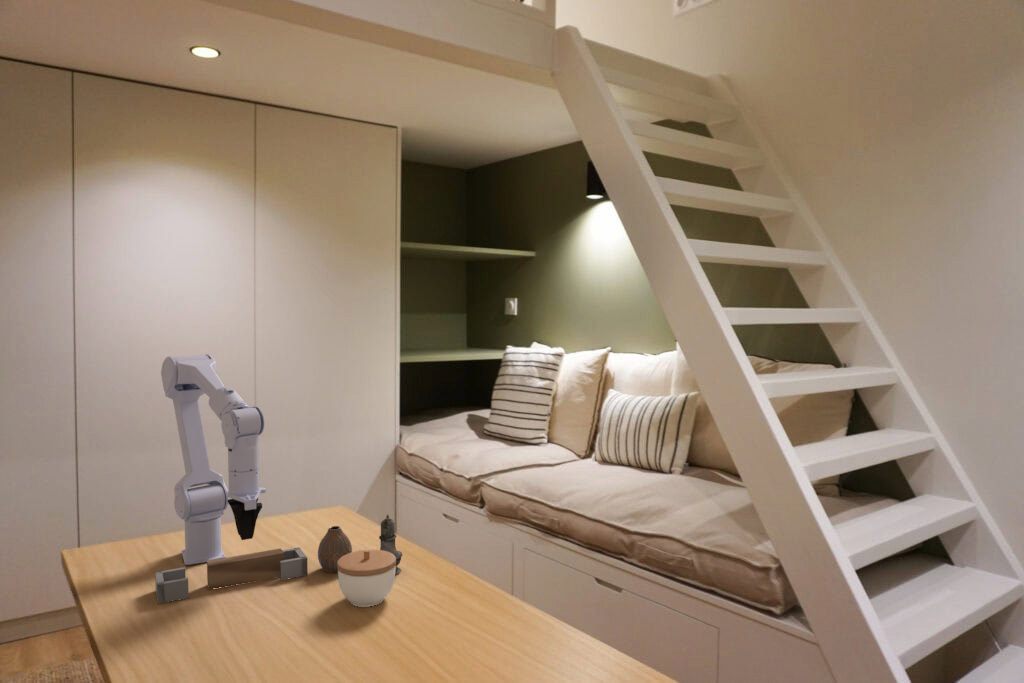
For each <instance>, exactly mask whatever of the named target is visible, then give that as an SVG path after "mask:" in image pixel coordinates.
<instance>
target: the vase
mask: <svg viewBox="0 0 1024 683" xmlns="http://www.w3.org/2000/svg"><path fill="white" fill-rule="evenodd" d="M352 552H353V546H352V543H351V541H350V539H349V537H348V536H347V534H346V533H344V531H343V529H342V528H341V526H339V525H333V526H329V527H328V529H327V531H326V533H325V535H324V536H323V537H322V538H321V540H320V542H319V544H318V548H317V560H318V563H319V565H320V567H321V568H322V569H323V570H324V571H325V572H327V573H330V574H331V573H332V574H333V573H336V574H337V573H338V569H337V562H338V560H339V559H340V558H341V557H342V556H344V555H346V554H349V553H352Z"/></svg>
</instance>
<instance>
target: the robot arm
mask: <svg viewBox="0 0 1024 683" xmlns="http://www.w3.org/2000/svg"><path fill="white" fill-rule="evenodd" d="M217 368H218V367H217V362H216V360H215V358H214V357H213V356H212V355H211V354H209V353H207V354H203V355H202V354H201V355H185V356H166V357H165V358H164V360H163V362H162V365H161V370H160V376H161V382H162V388H163V391H164V395H165V397H166V398H169V399H171V400H172V403H173V408H174V413H175V421H176V425H177V430H178V436H179V443H180V448H181V453H182V460H183V465H184V472H185V474H184V475H183V477H182V478H180V479H179V480H178V481H177V482H176V484H175V485H174V488H173V492H174V501H173V504H174V510H175V514H176V515H177V516H178V518H180V519H181V520H183V521H184V544H185V545H184V549H181V555H182V558H183V563H184V566H191V565H192V566H193V565H195V564H196V565H197V564H203V563H207V561H210V560H216V559H222V558H227V557H226V553H225V552H224V549H223V548H222V523H221V522H222V519H221V516H224V515H225V511H226V510H227V508H228V506H229V507H230V508H231V511H232V513H233V517H234V522H235V526H236V530H237V534H238V535H239V537H240V540H241V541H245V540H251V539H253V538H254V535H255V529H256V524H257V519H258V517H259V514H260V512H261V510H262V508H263V503H262V502H258V500H259V497H260V496H261V494H265V493H267V488H266V487H264V486H262V487H260V446H259V445H260V442H259V441H260V440H259V439H260V438H259V436H261V434H263V432H264V429H265V417H264V414H263V411H262V410H261V408H260V407H259V406H257V405H256V406H255V405H254V406H253V405H248V404H247V403H246V402H245V401H244V399H243V398H242V397H241V395H239V393H238V392H237V391H236V390H235V389H234V388H233V387H231V386H225V385H224V383H223V381H222V380H221V379H220V377H219V375H218V374H217V372H218V371H217ZM204 394H206V396H208V397H209V398H208V405H209V407H210V409H211V410H212V412H213V413H214V414H215V415H216V416H217V418H218V419H219V420H220V421H221V423H220V426H221V431H222V434H223V437H224V446H225V447H226V448H227V459H228V460H227V464H228V465H227V467H228V468H227V469H228V470H227V471H228V472H227V473H228V487H227V485H226V483H225V480H224V476H223V475H222V474H220V473H219V472H217V471H214V470H213V469H211V464H210V459H209V453H208V447H207V443H206V437H205V431H204V427H203V423H202V422H203V421H202V420H203V419H202V415H201V409H200V404H199V399H200V397H201V396H203V395H204Z"/></svg>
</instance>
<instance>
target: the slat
mask: <svg viewBox="0 0 1024 683" xmlns="http://www.w3.org/2000/svg"><path fill="white" fill-rule="evenodd" d="M282 550H283V549H282V548H275V549H269V550H263V551H262V550H261V551H257V552H252V553H246V554H240V555H239V554H238V555H235V556H228V557H226V558H222V559H216V560H210V561H207V562H206V575H207V576H206V579H207V580H206V581H207V587H208V586H209V588H208V590H209V589H213V588H219V587H225V586H230V587H232V586H231V585H235V586H237V585H236V584H241V585H243V584H242V583H246V584H249V583H248V582H251V583H255V582H254V581H256V582H260V581H259V580H262V581H265V580H264V579H267V580H272V579H276V578H275V577H277V578H280V561H283V560H284V552H283V551H282ZM271 578H272V579H271ZM225 588H226V587H225Z"/></svg>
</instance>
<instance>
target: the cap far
mask: <svg viewBox="0 0 1024 683" xmlns="http://www.w3.org/2000/svg"><path fill="white" fill-rule="evenodd" d="M281 550H282V551H283V552H284V560H283V561H280V577H279V579H280V581H284V579H286V580H289V579H288V578H291V579H294V578H293V577H296V578H301V577H306V576H308V574H309V573H308V570H309V569H308V556H307V555H306V554H305V553H304V551H303V550H302V549H301V548H300V546H299V547H294V548H288V549H281ZM300 576H301V577H300Z"/></svg>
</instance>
